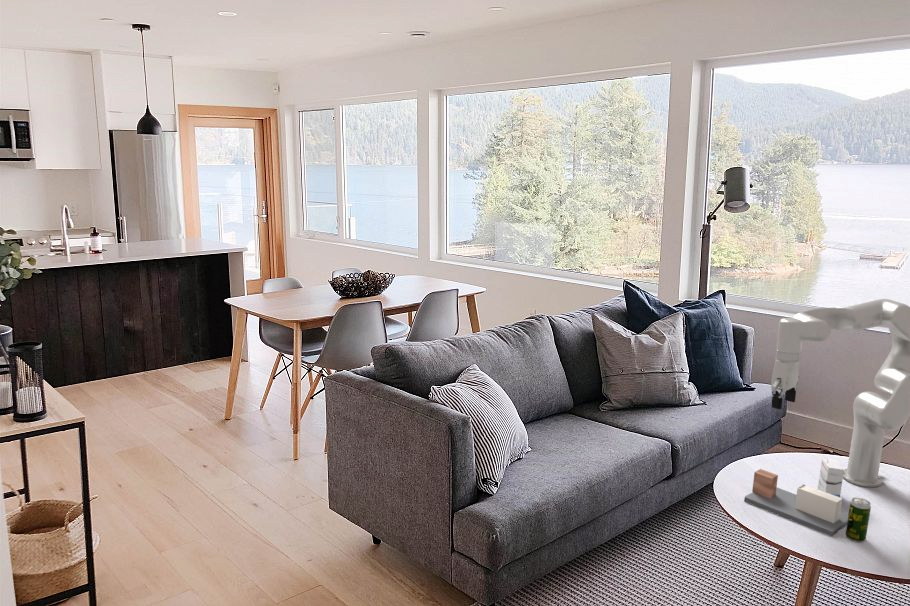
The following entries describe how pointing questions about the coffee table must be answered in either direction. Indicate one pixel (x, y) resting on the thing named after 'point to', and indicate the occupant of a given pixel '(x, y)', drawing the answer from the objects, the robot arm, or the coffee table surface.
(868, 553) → the coffee table surface
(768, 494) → the stub
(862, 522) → the beer can
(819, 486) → the ink box
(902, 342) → the robot arm
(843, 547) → the coffee table surface
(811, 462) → the coffee table surface
